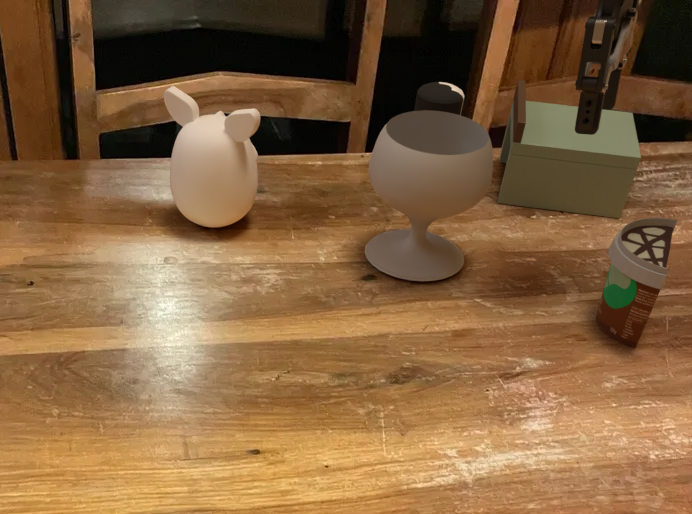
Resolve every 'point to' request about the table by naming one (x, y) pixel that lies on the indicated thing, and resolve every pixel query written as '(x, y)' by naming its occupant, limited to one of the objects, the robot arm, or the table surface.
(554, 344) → the table surface
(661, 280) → the food container
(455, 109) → the medicine bottle
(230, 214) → the piggy bank
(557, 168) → the sage green lidded box
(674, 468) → the table surface
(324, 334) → the table surface
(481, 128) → the chalice
